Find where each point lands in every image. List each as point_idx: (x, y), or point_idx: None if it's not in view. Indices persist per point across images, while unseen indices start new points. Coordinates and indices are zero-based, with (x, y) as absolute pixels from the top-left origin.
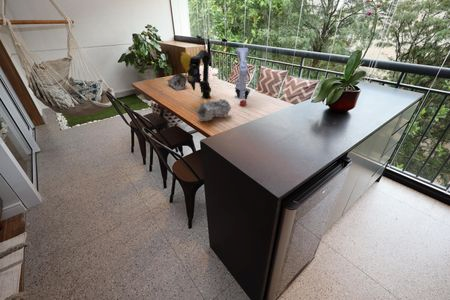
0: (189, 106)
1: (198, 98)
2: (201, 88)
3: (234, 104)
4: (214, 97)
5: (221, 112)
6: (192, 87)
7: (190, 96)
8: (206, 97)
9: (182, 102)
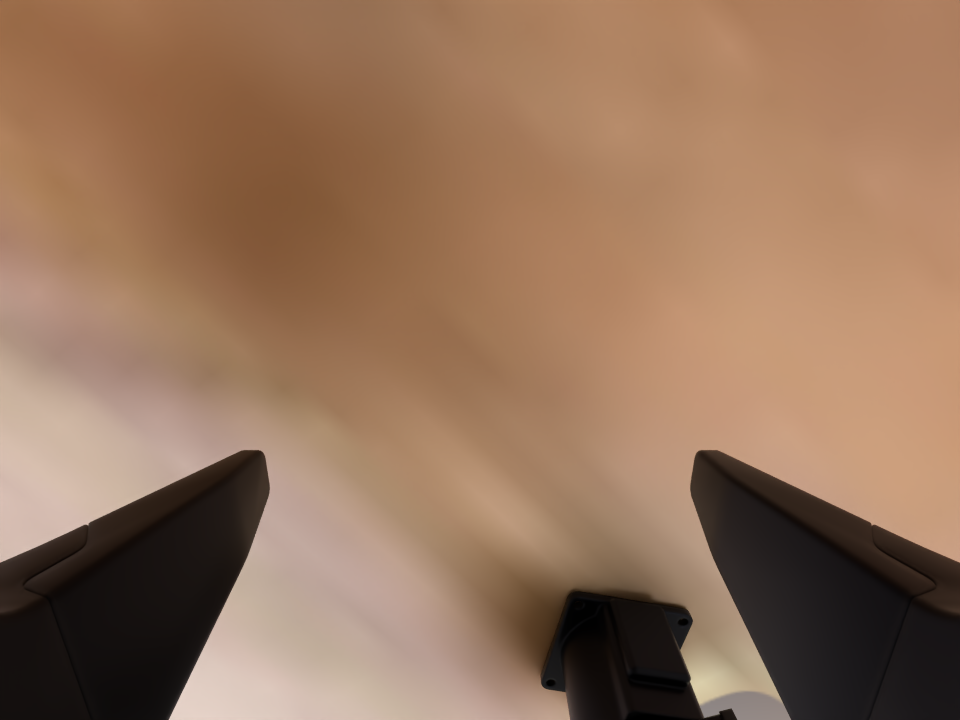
0: (584, 86)
1: None
2: (23, 558)
3: None
4: (494, 707)
5: None
6: (824, 512)
7: (930, 527)
8: (582, 629)
9: (903, 173)
